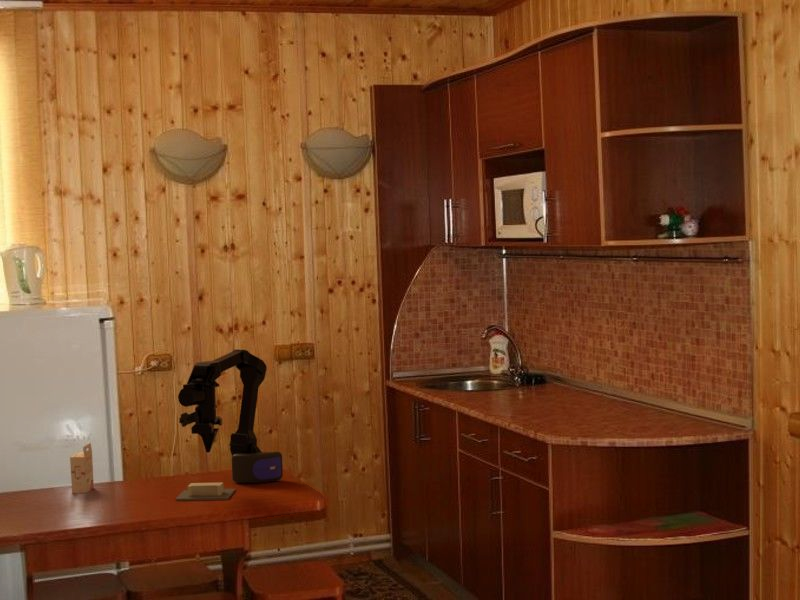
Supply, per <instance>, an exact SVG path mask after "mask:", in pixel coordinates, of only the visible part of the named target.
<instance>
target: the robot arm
mask: <svg viewBox="0 0 800 600" xmlns="http://www.w3.org/2000/svg"><path fill="white" fill-rule="evenodd" d="M234 367H235V368H236V369H237V370H239V378H240V380H241V381H240V382H241V383H242V384H243V385H242V386H243V387H242V394H241V402H240V403H241V404H240V410H239V411H240V413H239V419H238V428H237V430H236V431H235V432H234V433H231V434H230V441H229V451H230V454H231V457H232V456H233V455H235V454H242V453H260V452H262V450H261V449H260V448H259V447H258V438H257V436H256V434H255V432H254V427H255V419H256V413H257V412H256V410H257V404H258V395H259V394H258V393H259V388H260V386H261V385H262V383H263V382H264V381H265V377H266V374H267V364H266V363H265V361H264V360H263V359H261V358H259V357H258V356H256V355H254V354H252V353H250V351H248V350H247V349H240V348H239V349H234V350H232V351H231V352H229V353H226V354H224V355H221V356H219V357H217V358H215V359H213V360H207V361H206V360H205V361H200V362H196V363H194V366H193V368H192V370H191V373H190V375H189V377H188V380H187V383H183V384H182V385H183V386H182V389H180V390H179V392H178V395H177V399H178V402H179V404H180V405H181V406H182V407H185V408H186V407H192V406H196V407H195V408H194V410H193V411H191V412H189V413H188V412H187V411H185V412H184V413H181V414H180V416H179V417H178V419H179V421H178V423H180V424H181V427H182V428H184V427H186V426H187V425H191V424H193V425H192V426H191V428H190V429H191V434H193V435H194V434H195V435H196V434H197V435H199V436H200V437H201V439H202V443H203V446H204V449H205V452H206V453H211V450H212V447H213V445H214V442H215V441H216V438H217V435H218V431H220V428H218V427H217V428H216V427H215V426H217V425H218V426H219V427H220V426H222V425H223V424H224V423H223V418H222V417H221V415H217V408H218V404H217V401H216V400H217V399H216V398H217V397H216V395H217V394H216V388H218V387H220V384H219V383H218V382H217V381H216V380H217V379H219V378H220V377H221V376H222V373H223V372H225V371H228V370H230V369H231V368H234Z"/></svg>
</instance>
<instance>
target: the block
mask: <svg viewBox="0 0 800 600" xmlns="http://www.w3.org/2000/svg"><path fill="white" fill-rule="evenodd" d="M223 489H224V482H221V481H220V482H191V483H189V484H188V486H187V490H188V496H217V495H221V494H222V493H223V492H224V490H223Z"/></svg>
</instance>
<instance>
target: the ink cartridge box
mask: <svg viewBox="0 0 800 600" xmlns="http://www.w3.org/2000/svg"><path fill="white" fill-rule="evenodd" d="M82 449H83V452H82V451H81V452H76V453H75V454H73V455H71V456H70V457H69V462H70V463H69V464H70V476H71V477H70V479H71V494H87V493H89V492H90V491H92V489H93V488H94V487H95V485H94V465H93V462H94V461H93V449H92V443H91V442H90V443H88V444H86V445H84V446H83V447H82ZM87 449H88V450H87Z"/></svg>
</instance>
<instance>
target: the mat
mask: <svg viewBox="0 0 800 600" xmlns="http://www.w3.org/2000/svg"><path fill="white" fill-rule="evenodd" d="M223 490H224V492H223V493H222V494H221V495H217V496H188V489H184V490H183V491H182V492H181V493H180V494H178V496H177V497H175V501H176V502H178V501H179V502H180V501H181V502H182V501H189V502H190V501H191V502H192V501H227V500H229V499H230V498H231V497H232V495H233V494H234V493H235V492H236V488H223ZM234 491H235V492H234ZM233 492H234V493H233ZM230 496H231V497H230ZM229 497H230V498H229Z"/></svg>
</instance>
